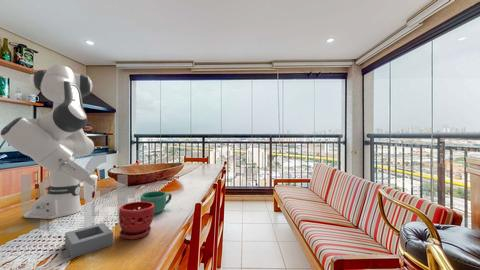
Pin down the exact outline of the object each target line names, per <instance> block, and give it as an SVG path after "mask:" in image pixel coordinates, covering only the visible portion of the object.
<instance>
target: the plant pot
mask: <svg viewBox="0 0 480 270" xmlns="http://www.w3.org/2000/svg"><path fill="white" fill-rule="evenodd" d="M154 206H155V205H154V204H153V203H151V202H141V201H132V202H128V203H125V204H124V203H123V205H120V207H119V210H118V220H119V221H118V222H119V227H120V229H121V230H119V236H120V237H121V238H123V239H126V240H135V239H140V238H143V237H145V236H147V235H148V234H149V233H150V232H151V231H152V227H151V225H152V222H153V220H154V215H155V214H154ZM144 208H146V209H144Z"/></svg>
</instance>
